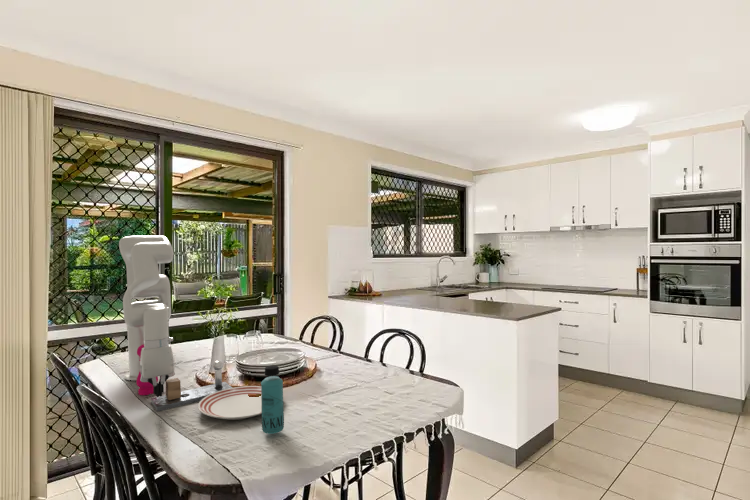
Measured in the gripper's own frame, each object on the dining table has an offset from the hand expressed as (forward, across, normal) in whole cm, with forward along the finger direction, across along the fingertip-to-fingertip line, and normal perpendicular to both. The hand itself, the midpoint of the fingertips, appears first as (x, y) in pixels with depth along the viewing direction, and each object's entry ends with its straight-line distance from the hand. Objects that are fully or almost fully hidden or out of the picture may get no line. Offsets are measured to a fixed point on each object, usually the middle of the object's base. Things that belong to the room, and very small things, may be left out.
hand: (158, 395), depth 149 cm
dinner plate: (+4, -22, +21) cm, 30 cm away
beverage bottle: (+4, -22, +46) cm, 51 cm away
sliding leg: (+2, -5, 0) cm, 5 cm away
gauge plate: (+4, -11, 0) cm, 12 cm away
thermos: (+4, -14, -69) cm, 71 cm away
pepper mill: (+4, +1, -17) cm, 17 cm away
